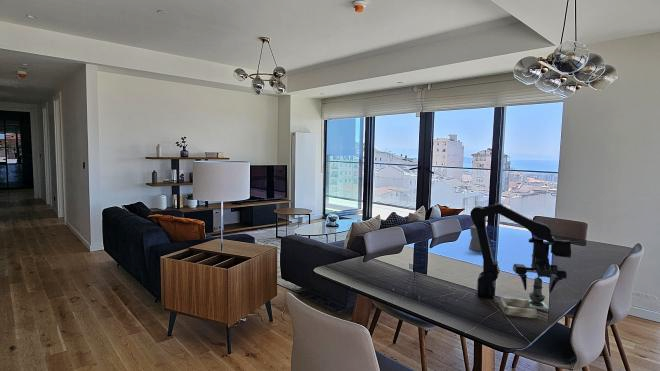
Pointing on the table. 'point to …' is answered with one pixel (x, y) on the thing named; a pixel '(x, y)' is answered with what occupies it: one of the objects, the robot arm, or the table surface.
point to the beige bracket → (516, 310)
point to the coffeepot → (474, 239)
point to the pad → (539, 306)
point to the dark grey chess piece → (537, 293)
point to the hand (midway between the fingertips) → (537, 291)
